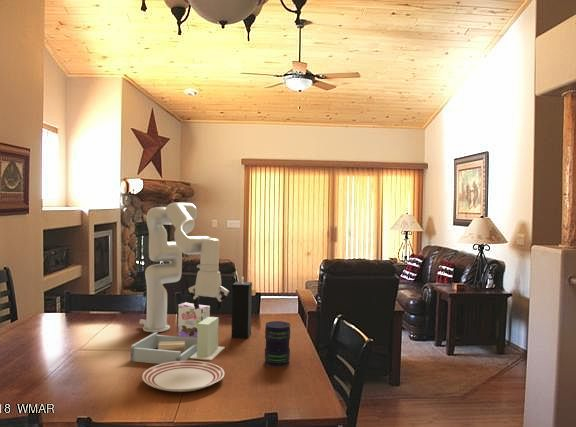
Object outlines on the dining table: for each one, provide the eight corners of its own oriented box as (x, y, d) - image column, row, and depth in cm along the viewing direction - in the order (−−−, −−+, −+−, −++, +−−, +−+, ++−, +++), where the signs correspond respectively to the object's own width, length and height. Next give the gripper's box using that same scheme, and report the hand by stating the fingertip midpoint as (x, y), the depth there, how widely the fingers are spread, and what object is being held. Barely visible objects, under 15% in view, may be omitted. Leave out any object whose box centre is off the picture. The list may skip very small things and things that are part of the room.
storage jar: (267, 368, 165) (268, 328, 165) (261, 359, 175) (262, 321, 175) (292, 366, 168) (293, 327, 168) (286, 357, 178) (286, 320, 177)
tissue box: (251, 333, 210) (252, 275, 210) (247, 338, 202) (249, 277, 202) (234, 333, 211) (236, 274, 210) (231, 337, 203) (232, 277, 203)
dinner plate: (191, 362, 170) (191, 353, 170) (240, 381, 153) (241, 371, 153) (125, 383, 149) (125, 373, 149) (174, 407, 132) (175, 396, 132)
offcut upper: (184, 351, 175) (184, 344, 175) (158, 352, 173) (158, 345, 173) (184, 348, 179) (185, 341, 179) (159, 349, 177) (159, 341, 177)
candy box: (176, 340, 197) (177, 304, 197) (185, 337, 202) (186, 301, 202) (201, 345, 190) (201, 307, 190) (209, 342, 196) (210, 305, 195)
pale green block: (196, 356, 176) (197, 323, 175) (207, 347, 187) (208, 316, 187) (207, 357, 175) (208, 324, 175) (218, 347, 187) (218, 317, 186)
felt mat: (189, 358, 174) (189, 357, 174) (204, 346, 190) (204, 345, 190) (211, 360, 172) (211, 359, 172) (224, 347, 188) (224, 346, 188)
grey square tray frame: (130, 361, 170) (130, 345, 170) (154, 346, 188) (155, 332, 188) (179, 365, 166) (179, 349, 166) (198, 350, 184) (199, 335, 184)
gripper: (185, 268, 179) (184, 309, 179) (226, 271, 176) (224, 313, 176) (193, 265, 186) (191, 305, 187) (232, 268, 183) (230, 309, 183)
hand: (207, 309), depth 181 cm, fingers open, 9 cm apart
